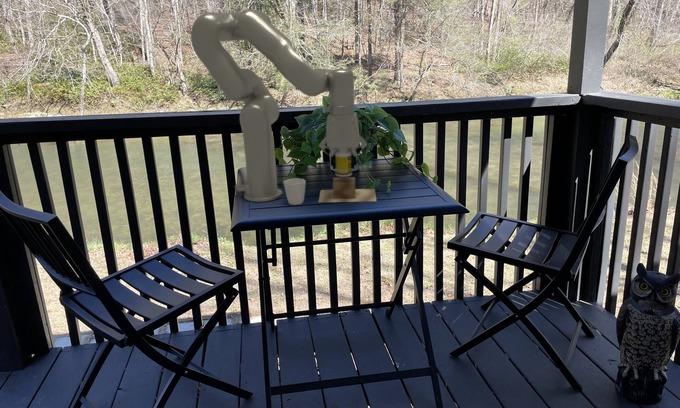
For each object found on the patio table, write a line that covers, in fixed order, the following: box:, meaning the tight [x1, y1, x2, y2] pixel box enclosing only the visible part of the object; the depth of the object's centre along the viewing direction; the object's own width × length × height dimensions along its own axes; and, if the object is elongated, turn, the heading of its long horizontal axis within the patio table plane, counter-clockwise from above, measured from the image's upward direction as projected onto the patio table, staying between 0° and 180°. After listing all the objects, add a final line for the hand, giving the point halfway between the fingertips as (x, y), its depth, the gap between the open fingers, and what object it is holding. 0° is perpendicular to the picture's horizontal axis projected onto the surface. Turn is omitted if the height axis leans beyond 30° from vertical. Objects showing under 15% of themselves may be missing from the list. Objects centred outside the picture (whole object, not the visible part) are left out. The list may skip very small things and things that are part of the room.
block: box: [332, 176, 356, 199], centre depth 169 cm, size 7×7×5 cm
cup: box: [283, 177, 307, 206], centre depth 164 cm, size 7×10×8 cm
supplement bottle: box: [334, 148, 353, 178], centre depth 166 cm, size 5×5×10 cm
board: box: [318, 188, 377, 203], centre depth 170 cm, size 18×13×1 cm
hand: (343, 167), depth 167 cm, fingers closed on supplement bottle, 5 cm apart
